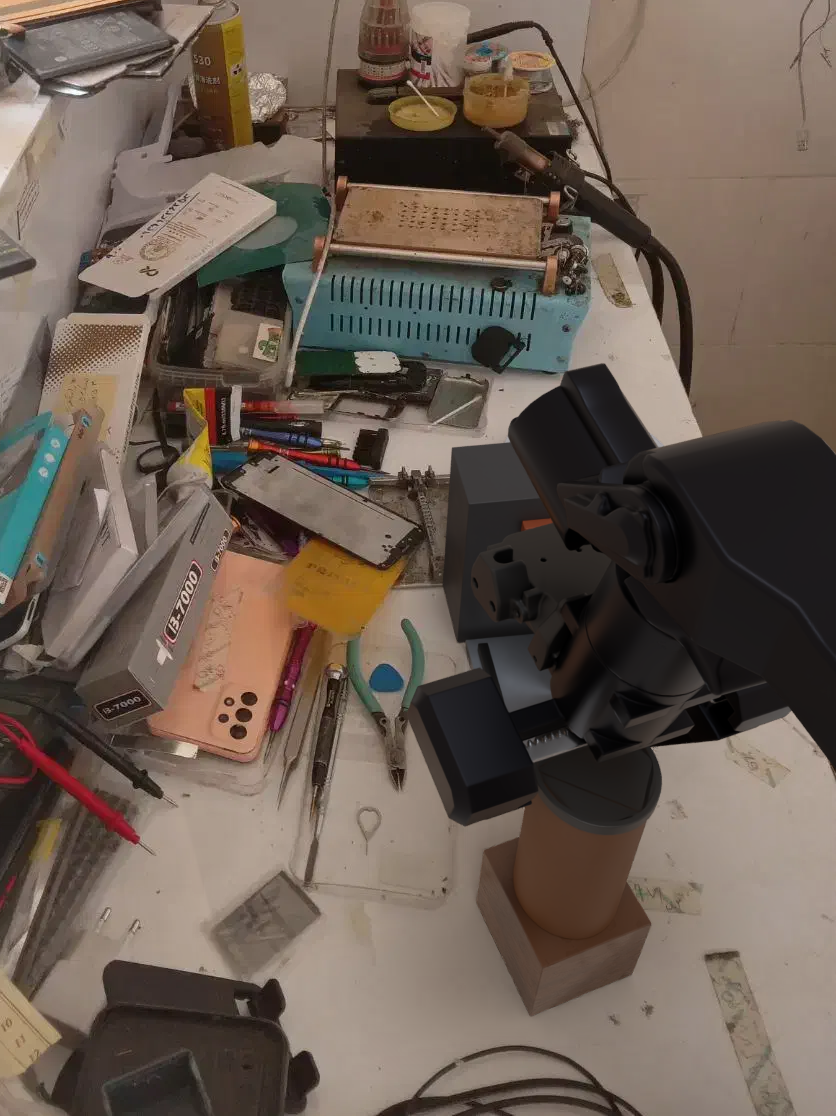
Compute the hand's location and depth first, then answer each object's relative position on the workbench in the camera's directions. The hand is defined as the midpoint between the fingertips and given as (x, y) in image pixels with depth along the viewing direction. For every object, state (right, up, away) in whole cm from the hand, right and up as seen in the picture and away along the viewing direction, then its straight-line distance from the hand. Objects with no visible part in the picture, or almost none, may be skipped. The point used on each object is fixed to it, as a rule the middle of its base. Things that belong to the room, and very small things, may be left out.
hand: (562, 762), depth 55 cm
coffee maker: (+5, +2, +28) cm, 28 cm away
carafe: (+1, -9, +3) cm, 9 cm away
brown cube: (+2, -14, +8) cm, 16 cm away
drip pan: (+5, -4, +21) cm, 22 cm away
